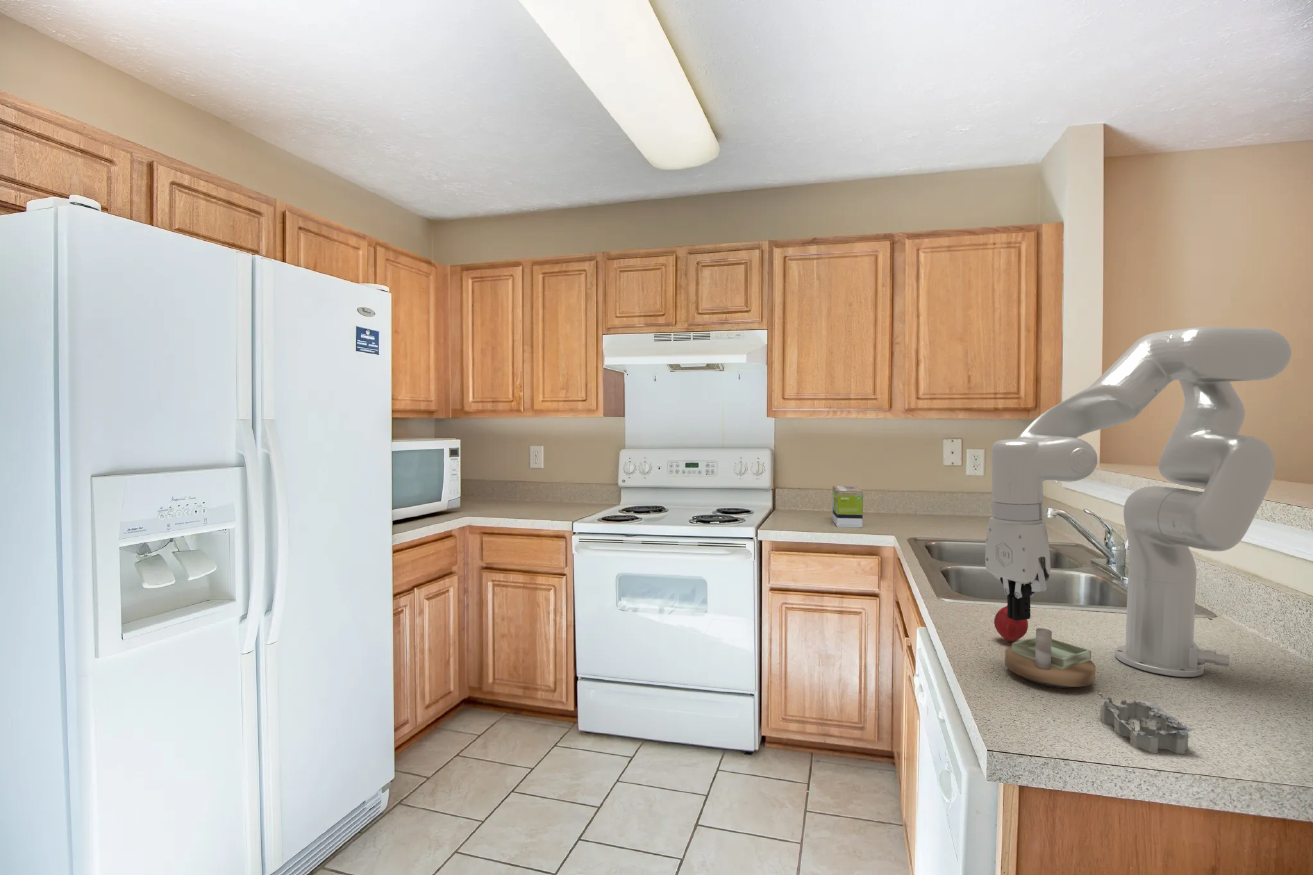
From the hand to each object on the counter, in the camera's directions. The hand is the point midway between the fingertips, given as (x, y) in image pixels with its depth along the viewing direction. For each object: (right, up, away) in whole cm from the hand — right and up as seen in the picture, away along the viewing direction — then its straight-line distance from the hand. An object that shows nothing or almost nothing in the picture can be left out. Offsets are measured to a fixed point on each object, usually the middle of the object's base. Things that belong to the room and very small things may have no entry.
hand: (1019, 618), depth 111 cm
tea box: (+14, -4, +148) cm, 149 cm away
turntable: (+4, -8, -2) cm, 9 cm away
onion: (+7, -9, +15) cm, 19 cm away
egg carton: (+5, -11, -21) cm, 24 cm away
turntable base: (+4, -10, -2) cm, 10 cm away
